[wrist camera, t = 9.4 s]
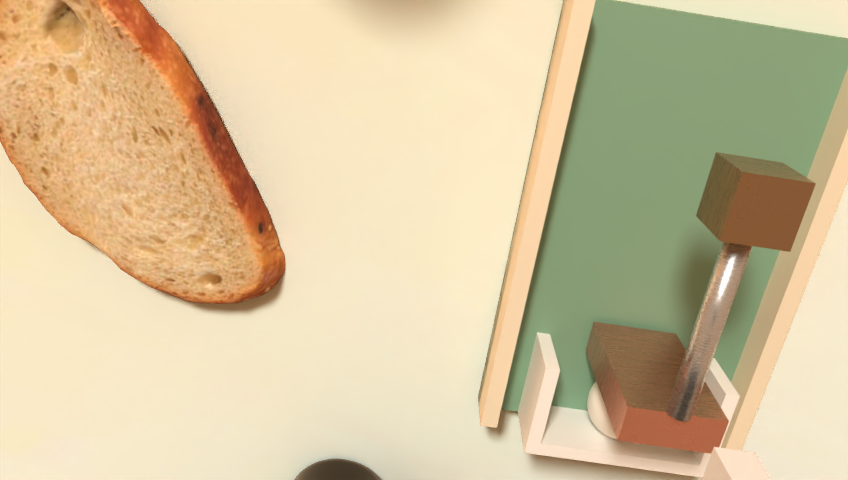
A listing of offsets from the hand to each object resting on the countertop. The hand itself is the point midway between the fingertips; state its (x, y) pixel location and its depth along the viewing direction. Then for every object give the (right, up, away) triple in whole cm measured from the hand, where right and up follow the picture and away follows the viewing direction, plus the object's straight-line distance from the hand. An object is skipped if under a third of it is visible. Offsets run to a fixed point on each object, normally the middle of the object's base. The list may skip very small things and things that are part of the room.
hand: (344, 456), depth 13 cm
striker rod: (+15, +4, +28) cm, 31 cm away
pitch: (+15, +4, +29) cm, 33 cm away
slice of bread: (-14, +10, +28) cm, 33 cm away
